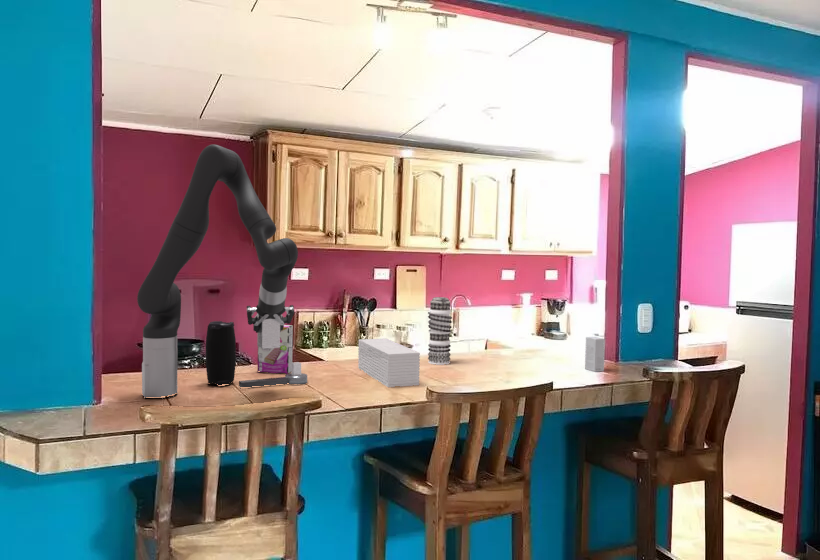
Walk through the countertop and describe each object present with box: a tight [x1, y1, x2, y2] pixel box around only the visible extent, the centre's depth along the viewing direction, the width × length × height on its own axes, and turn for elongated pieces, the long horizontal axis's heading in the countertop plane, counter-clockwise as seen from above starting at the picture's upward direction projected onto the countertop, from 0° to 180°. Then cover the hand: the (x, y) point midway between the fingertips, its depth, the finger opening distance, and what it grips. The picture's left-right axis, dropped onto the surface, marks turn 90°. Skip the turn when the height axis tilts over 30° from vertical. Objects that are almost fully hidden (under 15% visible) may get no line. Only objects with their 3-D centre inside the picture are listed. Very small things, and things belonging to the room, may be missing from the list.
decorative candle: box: [427, 296, 453, 366], centre depth 243 cm, size 9×9×25 cm
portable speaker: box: [205, 320, 237, 386], centre depth 199 cm, size 9×9×20 cm
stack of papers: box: [357, 337, 421, 388], centre depth 216 cm, size 32×11×11 cm, turn 22°
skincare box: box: [584, 336, 606, 373], centre depth 234 cm, size 6×4×12 cm
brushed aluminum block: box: [256, 318, 280, 349], centre depth 191 cm, size 5×5×11 cm
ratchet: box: [238, 361, 308, 387], centre depth 200 cm, size 22×7×6 cm, turn 120°
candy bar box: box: [257, 324, 294, 375], centre depth 219 cm, size 11×5×16 cm, turn 84°
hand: (267, 330), depth 193 cm, fingers closed on brushed aluminum block, 6 cm apart
